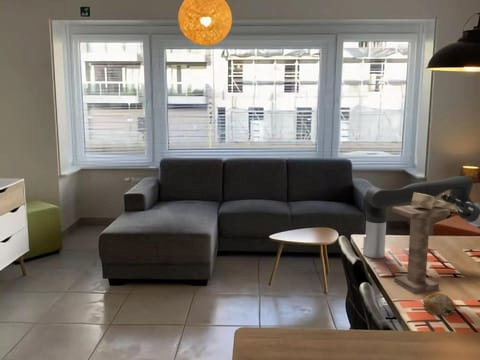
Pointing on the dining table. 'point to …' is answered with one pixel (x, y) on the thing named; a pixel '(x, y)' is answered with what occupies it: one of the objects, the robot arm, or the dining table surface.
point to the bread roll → (439, 304)
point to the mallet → (430, 202)
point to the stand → (418, 246)
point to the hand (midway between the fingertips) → (445, 196)
